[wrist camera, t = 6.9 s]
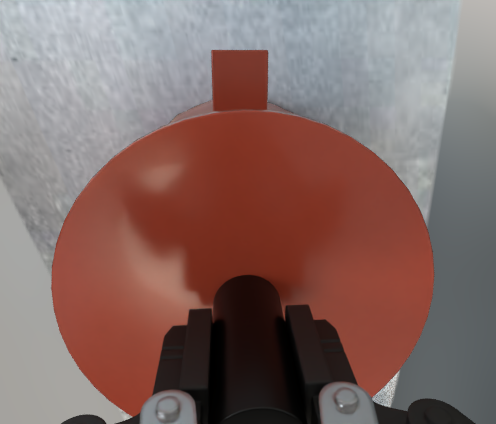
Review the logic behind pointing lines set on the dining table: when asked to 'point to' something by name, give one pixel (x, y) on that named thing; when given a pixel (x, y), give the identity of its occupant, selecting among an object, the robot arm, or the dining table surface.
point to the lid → (241, 259)
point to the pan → (236, 83)
